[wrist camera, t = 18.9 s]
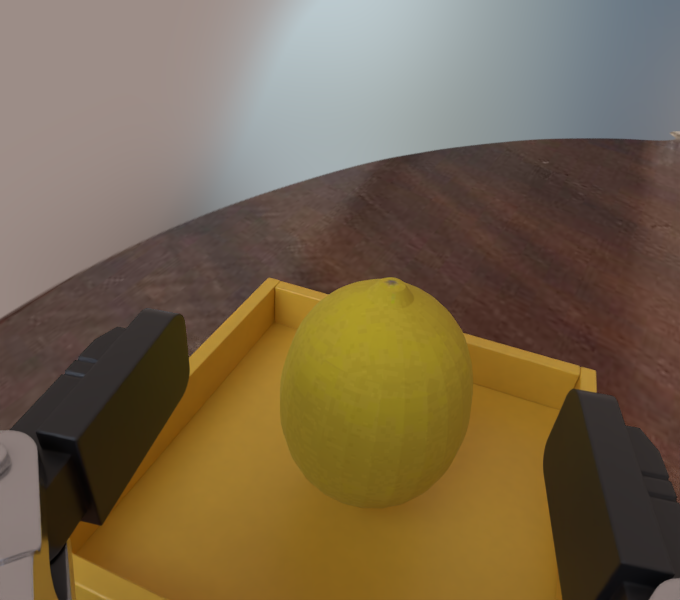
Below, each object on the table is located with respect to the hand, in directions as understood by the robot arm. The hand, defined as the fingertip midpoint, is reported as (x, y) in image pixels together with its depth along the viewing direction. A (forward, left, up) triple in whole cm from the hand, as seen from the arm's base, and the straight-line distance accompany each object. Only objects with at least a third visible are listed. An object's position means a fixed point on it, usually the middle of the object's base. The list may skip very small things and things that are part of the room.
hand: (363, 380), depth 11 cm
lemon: (0, +3, -8) cm, 8 cm away
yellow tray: (0, +3, -8) cm, 9 cm away
